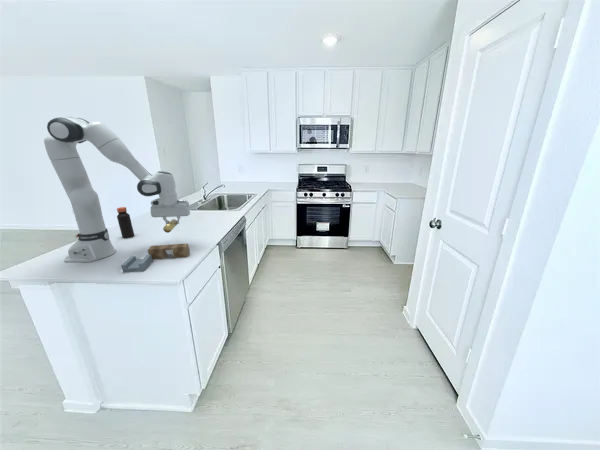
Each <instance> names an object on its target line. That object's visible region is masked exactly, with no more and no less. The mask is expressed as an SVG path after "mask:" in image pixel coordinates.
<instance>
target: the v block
mask: <svg viewBox="0 0 600 450" xmlns="http://www.w3.org/2000/svg"><path fill="white" fill-rule="evenodd" d="M151 264H153V260H152V256H151V255H149V254H146V255H145V256H144V257H143V258H136V255H131V256H130V257H128V258H127V259H126V260H125V261H124V262H123V263H122V264H121V270H122V273H123V274H124V273H133V272H145V271H146V270H147V269H148V268H149V266H151Z"/></svg>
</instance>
